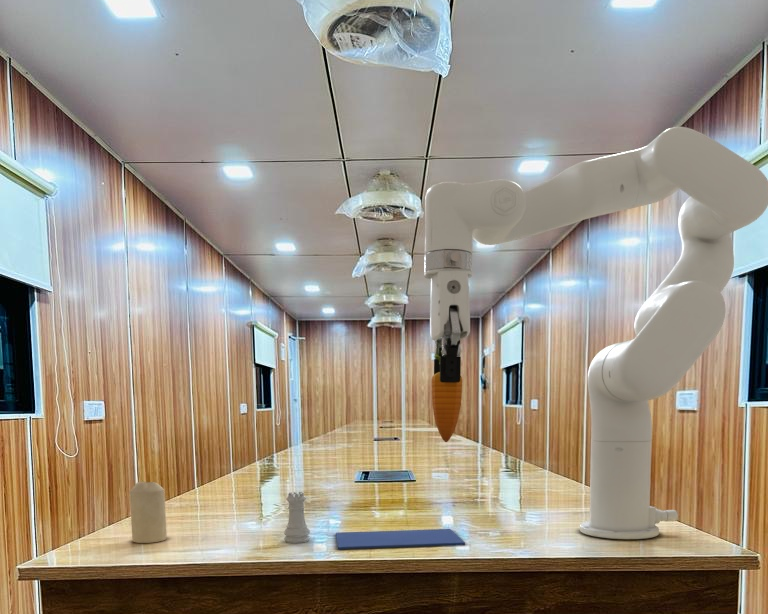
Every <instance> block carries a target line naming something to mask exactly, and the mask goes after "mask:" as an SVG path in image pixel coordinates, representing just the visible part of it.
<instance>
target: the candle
mask: <svg viewBox="0 0 768 614" xmlns="http://www.w3.org/2000/svg"><path fill="white" fill-rule="evenodd" d="M165 496H166V495H165V488H163V487H162V485H160V484H158V483H157V482H156V481H152V482H151V481H144V480H142V481H141V480H140V481H138V482H136V483H135V484H134V485H133V487H132V488H131V489H130V490H129V507H130V523H131V535H132V536H131V539H132V542H133V543H136V544H152V543H158V542H163V541H165V540H167V539H168V538H167V535H168V534H167V533H168V531H167V516H166V515H167V514H166V497H165Z"/></svg>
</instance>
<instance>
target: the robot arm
mask: <svg viewBox="0 0 768 614" xmlns="http://www.w3.org/2000/svg"><path fill="white" fill-rule="evenodd" d="M680 190H681V191H682V192H683V193H685V194H686V195H688V198H686V200H685V201H684V203H683V204H682V206H681V207H680V210H679V213H678V219H677V227H678V228H677V229H678V233H679V236H680V242H681V253H680V257H679V259H678V260H677V262H676V263H675V265H674V266H673V268H671V271H670V272H669V273H668V274H667V275H666V276H665V278H664V279H663V280H662V281H661V283H660V284H659V285H658V286H657V288H656V289H655V290H654V291H653V292H652V294H651V295H650V296H648V298H647V299H646V300H645V301H644V303H643V304H642V305H641V306H640V308H639V310H638V311H637V313H636V315H635V319H634V323H633V329H634V333H635V337H634V338H633V339H632V340H630V339H629V340H625V341H624V340H623V341H621V342H616V343H613V344H611V345H608V346H605V347H604V348H602V349H601V350H600V351H598V352H597V354H596V355H595V356H594V358H593V359H592V360H591V362H590V365H589V368H588V371H587V390H588V397H589V406H590V430H591V431H590V460H589V463H590V465H589V467H590V468H589V469H590V470H589V511H588V512H589V520H588V521H587V520H586V521H584V522H582V523H580V524H579V531H580V532H581V534H583V535H584V534H585V535H587V536H591V537H596V538H601V539H612V540H645V539H651V538H655V537H657V536H659V534H660V527H659V526H657V525H658V524H659V523H660V522H666V523H667V522H677V521H678V520H679V513H678V511H677V510H676V509H664V510H662V509H658V508H657V507H655V506H651V505H650V504H651V472H652V470H651V467H652V440H653V423H652V422H653V421H652V413H651V407H650V403H649V401H653V400H656V399H658V398H661V397H663V396H665V395H666V394H668V393H669V392H670V391H672V390H673V389H674V387H676V386H677V384H678V383H679V382H680V381H681V380H682V379H683V377H685V375H686V374H687V373H688V372H689V370H690V369H691V368H692V367H693V366H694V364H695V363H696V362H697V361H698V360H699V359H700V357H702V355H703V354H704V352H705V351H706V350H707V349H708V347H710V345H711V344H712V342H714V340H715V339H716V337H717V336H718V335H719V333H720V331H721V329H722V327H723V324H724V322H725V318H726V312H727V311H726V310H727V309H726V301H725V298H724V296H723V294H722V291H723V290H724V289H725V287H726V286H727V285H728V283H729V282H730V279H731V277H732V275H733V272H734V267H735V257H734V248H733V242H732V238H731V233H734V232H736V231H738V230H740V229H743V228H745V227H747V226H749V225H750V224H752V223H753V222H755V221H757V220H758V219H759V218H760V217H761V216H762V215H764V214H765V211H766V210H767V208H768V178H767V176H766V175H765V173H763V171H762V170H761V169H759V168H758V167H757V166H756V165H754V164H753V163H752V162H750V161H748V160H747V159H745V158H744V157H742V156H741V155H739V154H737V153H735V152H734V151H733V150H731V149H729V148H728V147H727V146H725V145H723V144H722V143H720V142H718V141H716V139H714V138H712V137H709V136H708V135H706V134H705V133H702V132H700V131H698V130H695V129H693V128H690V127H686V126H673V127H670V128H667V129H665V130H664V131H662V132H661V133H660V134H659V135H657V136H656V137H655V138H653V140H651V142H649V143H648V144H647V145H645V146H643V147H640V148H636V149H632V150H628V151H623V152H620V153H615V154H611V155H606V156H601V157H597V158H593V159H588V160H583V161H580V162H577V163H576V164H572V165H571V166H569V167H567V168H565V169H564V170H562V171H561V172H559V173H557V174H555V176H553V177H551V178H550V179H547V180H546V181H544V182H543V183H541V184H538V185H536V186H534V187H531V188H529V189H526V190H523V188H522V187H521V186H520V185H519V184H518V183H516V182H515V181H513V180H509V179H503V178H502V179H492V180H491V179H490V180H486V181H479V182H471V183H463V182H459V181H442V182H439V183H435V184H432V185H431V186H430V187H429V188H428V189H427V191H426V193H425V199H424V278H425V279H427V280H430V292H429V293H430V300H429V302H430V303H429V317H430V318H429V329H430V330H429V332H430V333H429V334H430V339H431V340H432V341H433V342H434V356H435V355H438V356H440V362H439V360H437V359H436V358H435V357H434V359H433V375H434V374H436V373H438V372H440V382H460V377H462V375H461V374H462V373H461V372H462V371H461V370H462V368H461V367H462V357H461V353H462V350H461V340H463V339H466V338H467V337H468V336H469V335H470V333H471V304H470V303H471V300H470V284H469V283H470V282H469V279H470V278H472V277H473V240H474V241H475V242H476V243H478V244H481V245H485V246H496V245H500V244H504V243H505V244H506V243H509V242H513V241H518V240H522V239H526V238H530V237H533V236H536V235H540V234H543V233H545V232H549V231H552V230H556V229H559V228H563V227H567V226H570V225H573V224H576V223H579V222H581V221H584V220H588V219H593V218H596V217H601V216H604V215H608V214H613V213H617V212H621V211H627V210H630V209H635V208H639V207H644V206H648V205H652V204H655V203H658V202H661V201H663V200H665V199H667V198H669V197H670V196H672V195H673V194H675V193H676V192H678V191H680ZM441 351H442V353H441ZM444 356H445V357H444ZM439 363H440V364H439ZM656 524H657V525H656Z"/></svg>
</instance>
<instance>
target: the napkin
mask: <svg viewBox="0 0 768 614" xmlns="http://www.w3.org/2000/svg"><path fill="white" fill-rule="evenodd" d="M335 539H336V545H337V550H339V551H340V550H365V549H390V548H391V549H394V548H420V547H421V548H422V547H423V548H424V547H447V546H466V542H465V541H464V540H463V539H461V537H460V536H458V534H456V533H455V532H454V531H453V530H452V529H451V528H434V529H433V528H431V529H429V528H428V529H405V530H404V529H403V530H402V529H401V530H376V531H372V530H371V531H346V532H345V531H344V532H335Z"/></svg>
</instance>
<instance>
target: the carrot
mask: <svg viewBox="0 0 768 614" xmlns="http://www.w3.org/2000/svg"><path fill="white" fill-rule="evenodd" d="M441 353H442V351H441ZM433 357H434V359H435V358H436V359H437V360H439V362H440V356H438V355H435V354H434V356H433ZM444 357H445V356H444ZM439 364H440V363H439ZM462 393H463V377H462V376H461V377H460V382H440V372H438V373H436V374H434V373H433V375H432V377H431V404H432V412H433V417H434V422H435V425H436V428H437V430H438V433H439V436H440V437H441V439H442V440H443V441H444V443H448V442H449V441H450V440H451V438H452V436H453V434H454V433H455V430H456V427H457V424H458V421H459V418H460V412H461V407H462Z"/></svg>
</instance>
